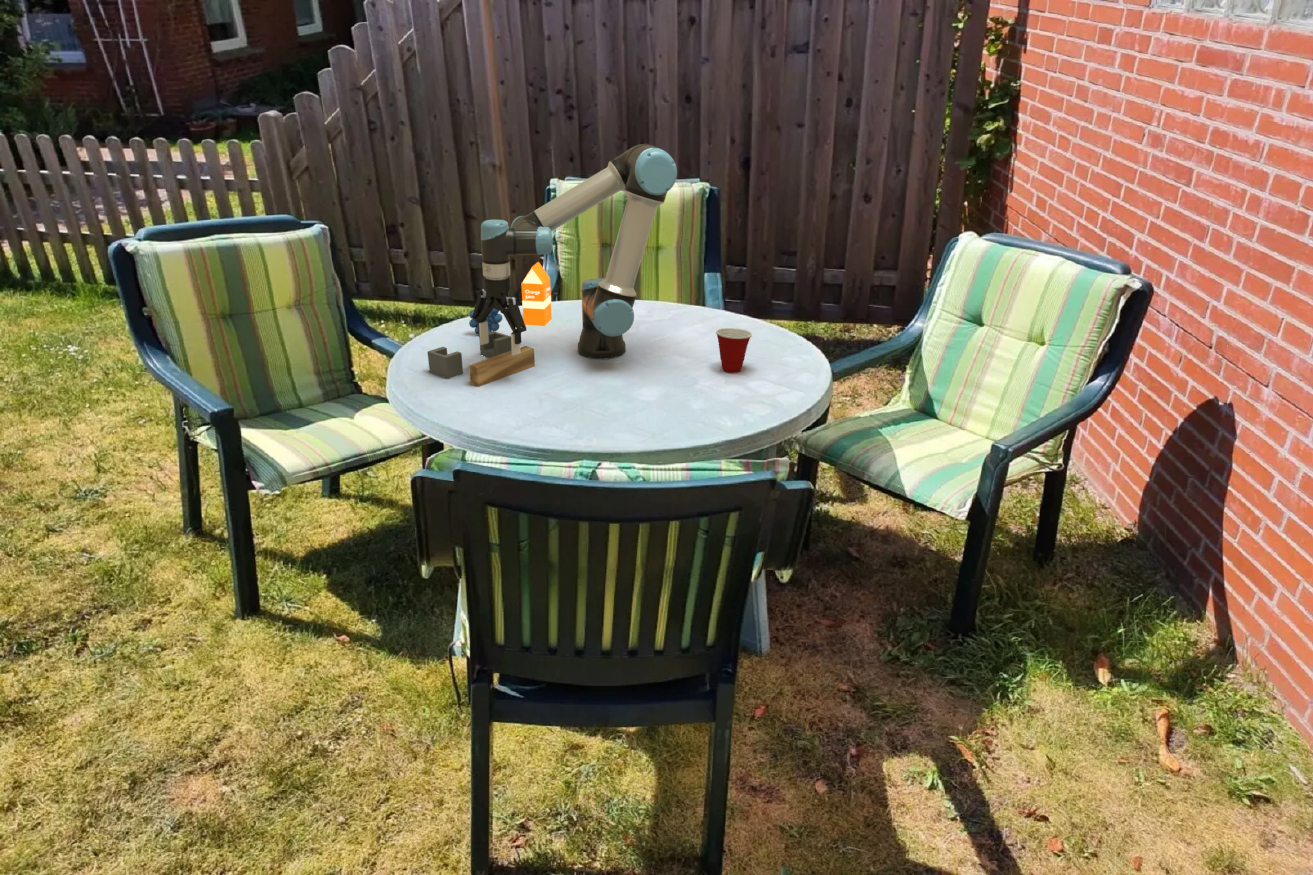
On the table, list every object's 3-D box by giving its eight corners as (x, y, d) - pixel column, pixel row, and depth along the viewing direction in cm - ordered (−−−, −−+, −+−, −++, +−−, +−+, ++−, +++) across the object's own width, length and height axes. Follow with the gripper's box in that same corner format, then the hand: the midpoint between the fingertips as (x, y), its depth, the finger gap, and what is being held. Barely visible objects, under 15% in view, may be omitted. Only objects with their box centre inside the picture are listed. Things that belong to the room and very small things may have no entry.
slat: (534, 367, 270) (533, 348, 268) (478, 387, 255) (477, 367, 252) (526, 364, 272) (525, 345, 270) (470, 384, 257) (468, 364, 254)
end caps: (512, 356, 278) (511, 336, 275) (448, 378, 260) (446, 357, 257) (494, 350, 283) (492, 331, 280) (429, 372, 265) (427, 351, 262)
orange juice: (523, 324, 308) (519, 267, 299) (530, 317, 315) (527, 261, 307) (545, 326, 306) (542, 268, 298) (552, 318, 314) (549, 262, 306)
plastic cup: (757, 369, 269) (760, 331, 264) (735, 378, 262) (737, 339, 257) (729, 360, 276) (731, 323, 271) (706, 369, 268) (708, 331, 263)
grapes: (508, 333, 299) (505, 298, 294) (500, 339, 293) (498, 303, 288) (475, 330, 301) (472, 295, 296) (467, 336, 295) (464, 301, 290)
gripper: (457, 271, 256) (461, 342, 264) (517, 287, 241) (520, 361, 250) (477, 266, 261) (481, 336, 270) (537, 282, 247) (539, 355, 256)
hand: (500, 349), depth 260 cm, fingers open, 13 cm apart
